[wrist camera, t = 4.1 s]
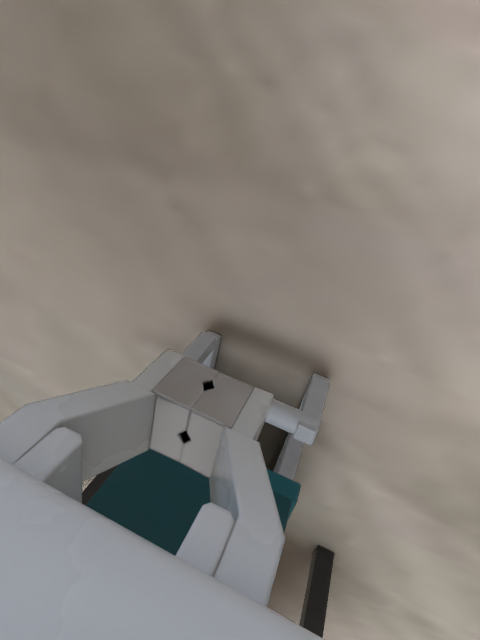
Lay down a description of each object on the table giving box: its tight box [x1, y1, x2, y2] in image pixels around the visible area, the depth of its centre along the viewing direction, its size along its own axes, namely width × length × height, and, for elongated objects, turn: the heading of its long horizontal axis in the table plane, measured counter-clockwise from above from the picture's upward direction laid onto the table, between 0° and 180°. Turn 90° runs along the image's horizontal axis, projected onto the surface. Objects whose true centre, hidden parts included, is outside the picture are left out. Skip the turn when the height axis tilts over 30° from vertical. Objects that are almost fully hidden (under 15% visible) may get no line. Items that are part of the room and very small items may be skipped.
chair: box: [85, 331, 329, 556], centre depth 19 cm, size 12×8×12 cm, turn 167°
